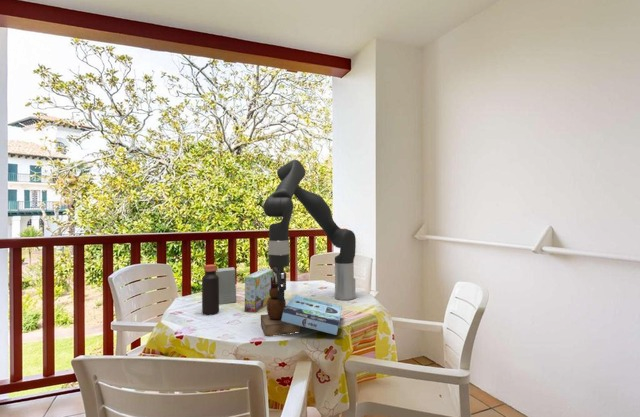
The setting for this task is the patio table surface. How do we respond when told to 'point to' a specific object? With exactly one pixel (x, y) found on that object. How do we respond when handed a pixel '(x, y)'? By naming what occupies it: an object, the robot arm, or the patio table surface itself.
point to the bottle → (210, 291)
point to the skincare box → (227, 285)
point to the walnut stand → (277, 326)
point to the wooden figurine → (275, 303)
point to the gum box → (312, 314)
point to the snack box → (257, 289)
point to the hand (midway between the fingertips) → (279, 298)
